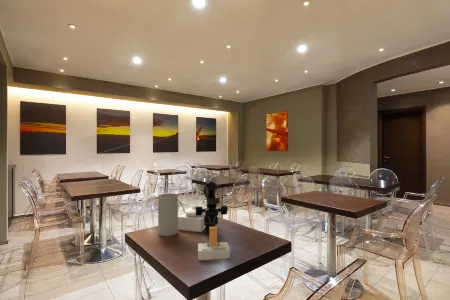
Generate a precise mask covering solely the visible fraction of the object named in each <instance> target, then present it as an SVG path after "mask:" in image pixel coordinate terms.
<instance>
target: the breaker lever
mask: <svg viewBox="0 0 450 300" xmlns="http://www.w3.org/2000/svg"><path fill="white" fill-rule="evenodd" d="M208 236H209V237H208V239H209V241H208V242H209V244H210V245H217V243H218V226H215V227H209V235H208Z"/></svg>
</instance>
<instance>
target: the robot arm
mask: <svg viewBox="0 0 450 300" xmlns="http://www.w3.org/2000/svg"><path fill="white" fill-rule="evenodd" d="M218 189H219V186H218V185H217V183H216V182H214V181H212V180H208V181H207V180H206V181H205V184H204V185H203V190H202V191H203V195H204V197H205V198H206V207H205V208H203V206H198V207H196V215H202V212H205V216H204V225H206V227H205V229H204V232H203V234H204V235H207V236H209V227H216V226H218V224H219V213H220V215H228V213H229V212H228V210H229V207H228V206H227V205H221V206H220V207H219V208H218V205H219V204H220V197H217V195H216V193H217V191H218ZM217 204H218V205H217ZM202 208H203V209H202Z"/></svg>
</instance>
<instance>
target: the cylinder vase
mask: <svg viewBox="0 0 450 300" xmlns="http://www.w3.org/2000/svg"><path fill="white" fill-rule="evenodd" d="M178 199H179V195H178V194H177V193H171V192H170V193H169V192H168V193H161V194H158V195H157V206H158V207H157V209H158V210H157V215H158V216H157V218H158V219H157V224H158V227H157V229H158V230H157V231H158V233H157V234H158V235H159V236H161V237H171V236H172V237H173V236H174V235H175V236H176V235H177V234H178V232H179V230H178V217H179V212H178V211H179V200H178Z"/></svg>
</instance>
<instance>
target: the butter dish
mask: <svg viewBox="0 0 450 300" xmlns="http://www.w3.org/2000/svg"><path fill="white" fill-rule="evenodd" d="M196 207H199V205H197V204H194V205H192V206H191V207H189V208H186V209H185V210H184V212H183V213H182V214H181V215H178V231H189V232H197V233H202V232H203V231H205V227H206V225H204V216H205V212H202V215H196ZM202 209H204V208H203V207H202Z"/></svg>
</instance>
